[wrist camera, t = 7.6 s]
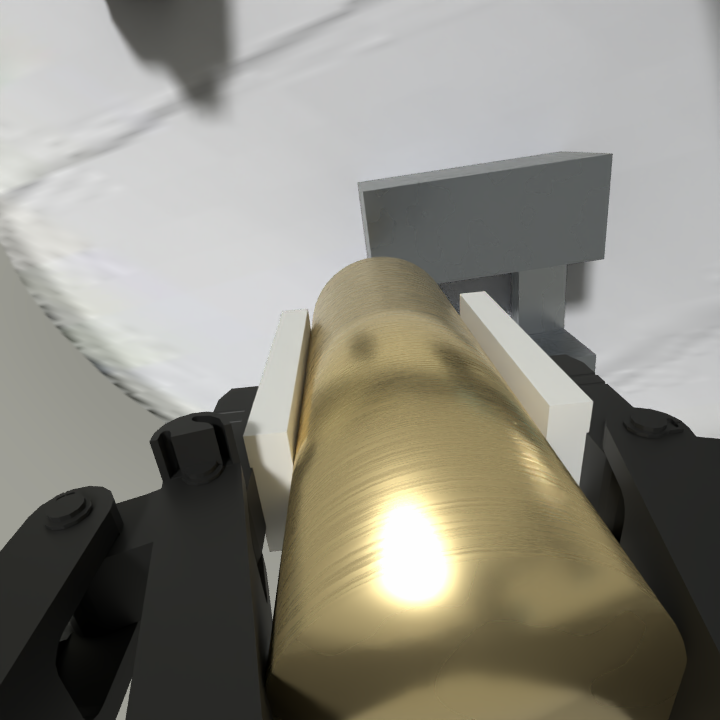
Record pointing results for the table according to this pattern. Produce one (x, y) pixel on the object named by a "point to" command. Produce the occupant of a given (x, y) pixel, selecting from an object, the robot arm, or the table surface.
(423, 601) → the gold metal cylinder
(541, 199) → the jig
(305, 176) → the table surface
